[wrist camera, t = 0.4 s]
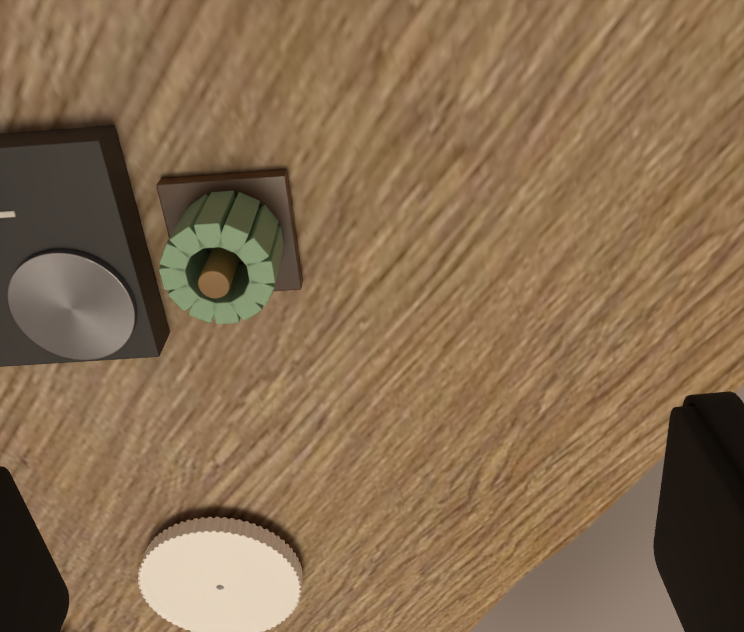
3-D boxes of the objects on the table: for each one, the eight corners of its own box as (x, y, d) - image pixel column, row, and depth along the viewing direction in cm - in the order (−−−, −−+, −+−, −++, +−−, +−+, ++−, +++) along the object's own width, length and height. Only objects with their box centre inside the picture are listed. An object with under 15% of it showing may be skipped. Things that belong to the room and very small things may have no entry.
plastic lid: (335, 557, 63) (333, 581, 61) (243, 631, 68) (239, 656, 66) (203, 482, 58) (196, 505, 56) (116, 568, 63) (107, 592, 61)
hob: (-125, 138, 43) (-158, 154, 40) (113, 120, 42) (96, 135, 40) (-32, 346, 51) (-55, 371, 48) (170, 333, 50) (158, 358, 48)
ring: (169, 194, 44) (147, 227, 39) (275, 187, 43) (265, 220, 39) (191, 287, 47) (173, 327, 43) (289, 281, 47) (281, 320, 43)
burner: (-7, 253, 44) (-12, 257, 43) (119, 244, 43) (116, 248, 43) (34, 358, 48) (30, 363, 47) (150, 351, 48) (147, 356, 47)
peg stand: (160, 177, 44) (126, 225, 38) (287, 168, 44) (273, 215, 38) (187, 288, 48) (160, 347, 42) (302, 281, 48) (292, 339, 42)
